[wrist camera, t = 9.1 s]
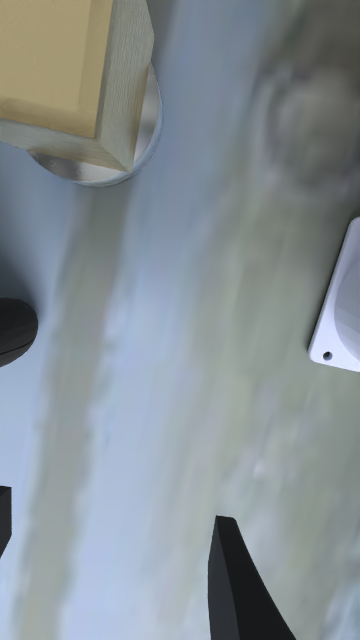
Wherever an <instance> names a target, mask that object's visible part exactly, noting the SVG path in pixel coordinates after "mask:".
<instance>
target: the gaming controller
mask: <svg viewBox="0 0 360 640" xmlns="http://www.w3.org/2000/svg"><path fill="white" fill-rule="evenodd" d="M37 331H38V319H37V316H36V313H35V311H34V310H33V309H32V308H31V307H30V306H29V305H28V304H27V303H25V302H23V301H21V300H19V299H12V298H0V367H2V366H4V365H7V364H9V363H11V362H12V361H14V360H16V359H17V358H19V357H20V356H22V355H23V354H24V353H25V352H26V351H27V350H28V349H29V348H30V347H31V345H32V344H33V342H34V340H35V338H36V335H37Z"/></svg>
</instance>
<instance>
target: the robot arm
mask: <svg viewBox="0 0 360 640" xmlns="http://www.w3.org/2000/svg"><path fill="white" fill-rule="evenodd" d="M325 352H330V355H329V357H327V358H323V354H324V353H325ZM308 355H309V357H310V358H311V359H312V360H313V361H314V362H318V363H322V364H326V365H331V366H335V367H340V368H344V369H348V370H353V371H357V372H360V217H357V218H354V219H353V220H352V221H351V223H350V225H349V227H348V230H347V234H346V237H345V240H344V243H343V246H342V249H341V252H340V255H339V258H338V261H337V264H336V267H335V270H334V273H333V276H332V279H331V282H330V285H329V288H328V291H327V294H326V297H325V301H324V304H323V307H322V310H321V313H320V316H319V319H318V322H317V325H316V328H315V331H314V334H313V337H312V340H311V343H310V346H309V349H308ZM11 535H12V518H11V487H6V486H0V558H1V556H2V554H3V552H4V550H5V548H6V546H7V544H8V542H9V540H10V537H11ZM208 608H209V621H210V633H211V640H296V638H295V637H294V635H293V634H292V632H291V631H290V629H289V627H288V626H287V624H286V622H285V621H284V619H283V617H282V616H281V614H280V612H279V611H278V609H277V607H276V605H275V603H274V602H273V600H272V598H271V596H270V594H269V593H268V591H267V589H266V587H265V585H264V583H263V581H262V579H261V577H260V575H259V573H258V571H257V569H256V567H255V565H254V563H253V561H252V559H251V556H250V554H249V552H248V550H247V547H246V545H245V543H244V540H243V538H242V535H241V533H240V530H239V528H238V525H237V522H236V520H235V519H234V518H231V517H224V516H217V515H216V518H215V524H214V530H213V536H212V543H211V549H210V555H209V561H208Z"/></svg>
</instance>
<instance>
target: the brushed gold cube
mask: <svg viewBox="0 0 360 640" xmlns="http://www.w3.org/2000/svg"><path fill="white" fill-rule="evenodd" d="M154 38H155V37H154V32H153V28H152V24H151V19H150V15H149V11H148V6H147V2H146V0H0V140H1V141H3V142H5V143H7V144H9V145H11V146H14V147H16V148H20V149H24V150H29V151H33V152H38V153H42V154H47V155H51V156H56V157H60V158H65V159H69V160H74V161H78V162H83V163H87V164H92V165H96V166H101V167H105V168H110V169H114V170H119V171H123V172H128V173H132V168H133V162H134V156H135V150H136V144H137V138H138V132H139V127H140V121H141V115H142V109H143V103H144V97H145V91H146V85H147V79H148V73H149V68H150V62H151V56H152V50H153V44H154Z"/></svg>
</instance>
